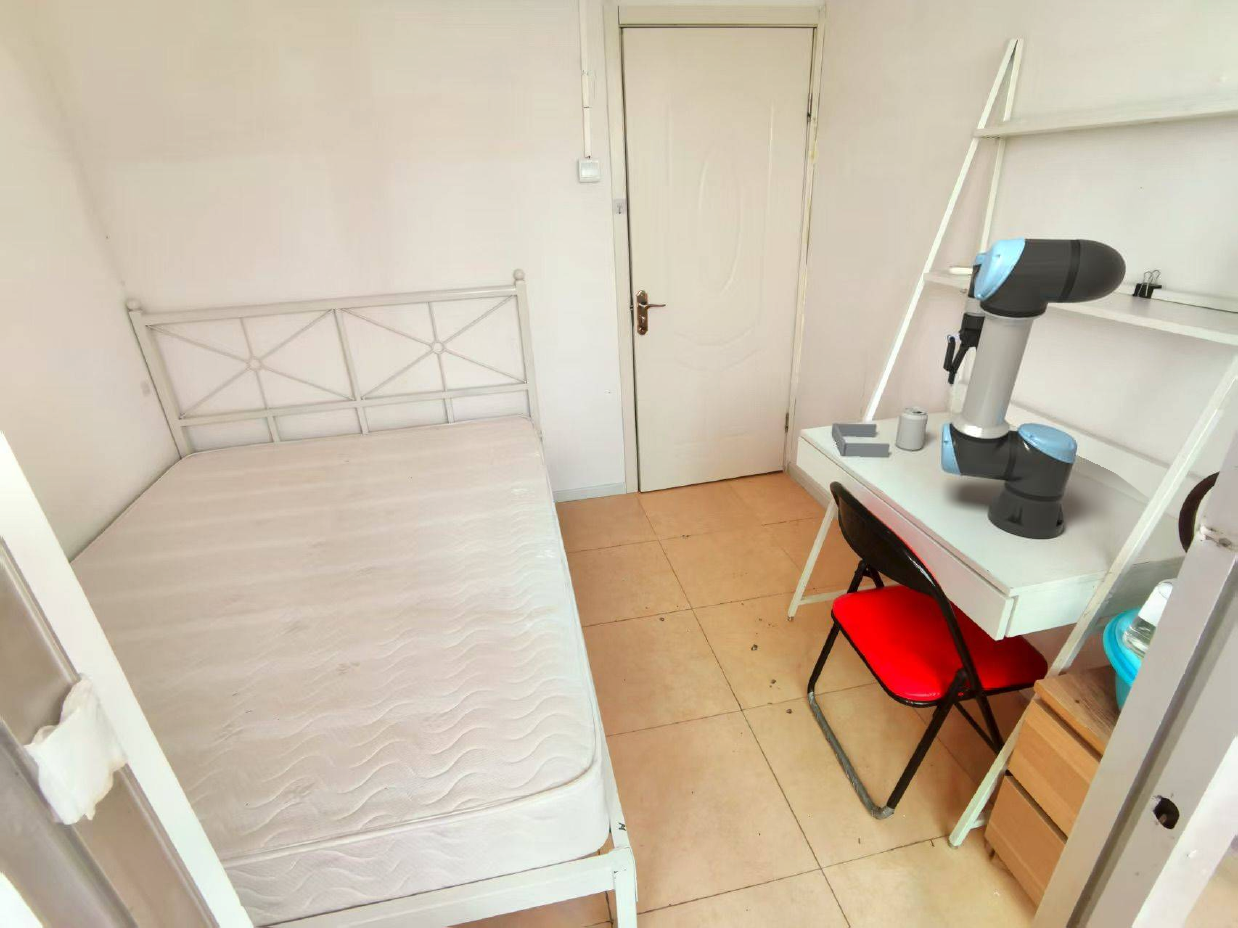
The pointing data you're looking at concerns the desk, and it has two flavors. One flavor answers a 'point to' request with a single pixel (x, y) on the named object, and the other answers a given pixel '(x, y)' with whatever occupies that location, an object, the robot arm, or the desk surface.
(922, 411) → the can
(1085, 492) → the desk surface
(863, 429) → the box
